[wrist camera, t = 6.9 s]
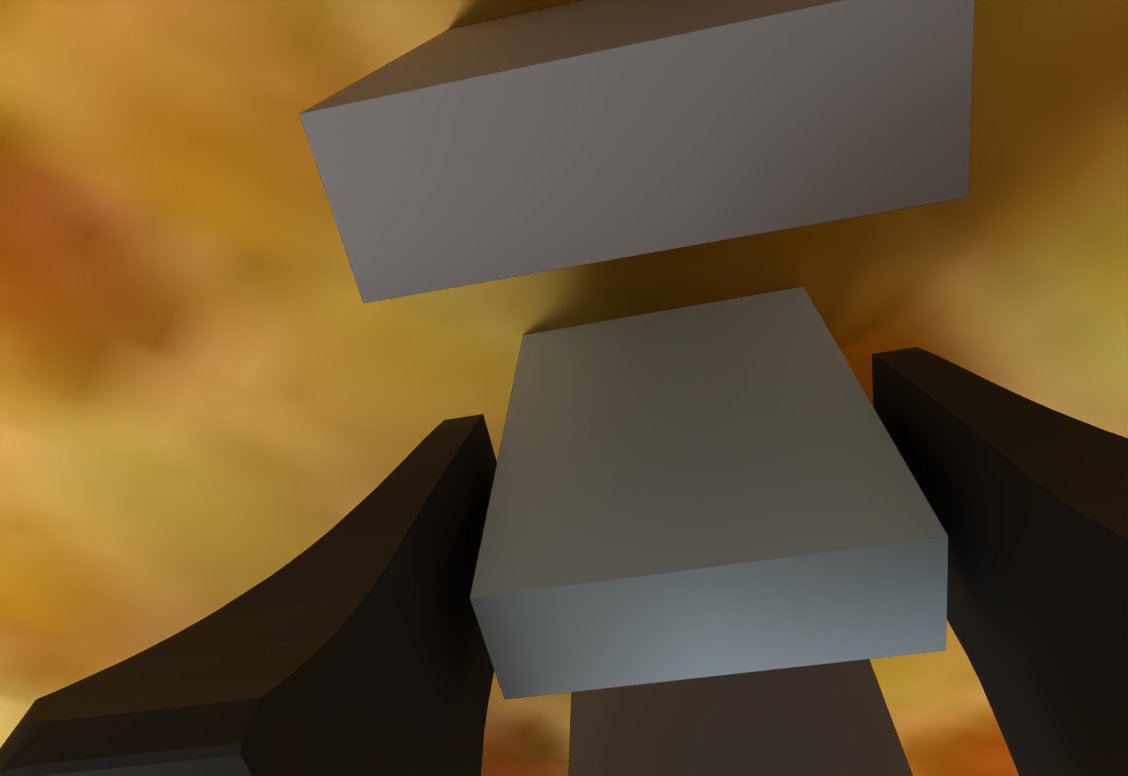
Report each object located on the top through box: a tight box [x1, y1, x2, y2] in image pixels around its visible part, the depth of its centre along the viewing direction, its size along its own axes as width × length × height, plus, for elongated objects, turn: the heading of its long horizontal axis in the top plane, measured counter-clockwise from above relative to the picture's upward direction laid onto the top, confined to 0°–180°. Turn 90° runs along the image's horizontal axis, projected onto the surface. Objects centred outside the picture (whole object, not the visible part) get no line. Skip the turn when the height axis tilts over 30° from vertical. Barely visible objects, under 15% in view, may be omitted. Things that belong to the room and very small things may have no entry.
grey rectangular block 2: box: [568, 659, 913, 776], centre depth 14 cm, size 2×5×7 cm, turn 101°
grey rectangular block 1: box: [300, 0, 975, 303], centre depth 9 cm, size 2×5×7 cm, turn 101°
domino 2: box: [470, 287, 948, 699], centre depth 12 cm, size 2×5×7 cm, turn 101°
